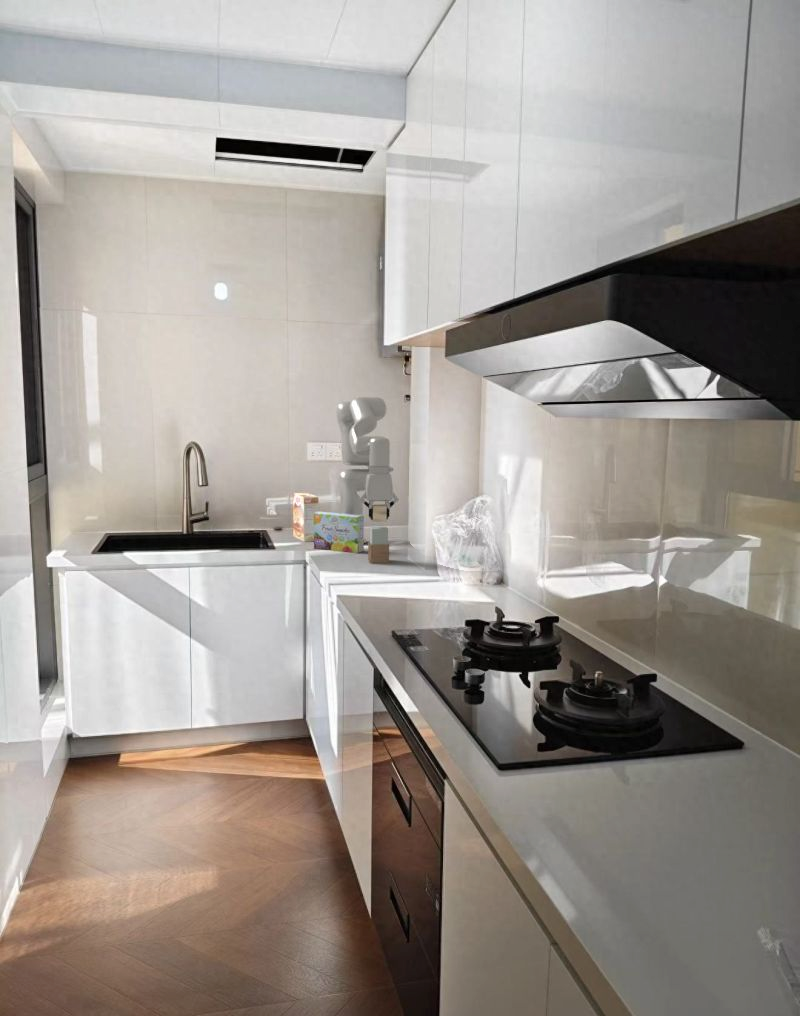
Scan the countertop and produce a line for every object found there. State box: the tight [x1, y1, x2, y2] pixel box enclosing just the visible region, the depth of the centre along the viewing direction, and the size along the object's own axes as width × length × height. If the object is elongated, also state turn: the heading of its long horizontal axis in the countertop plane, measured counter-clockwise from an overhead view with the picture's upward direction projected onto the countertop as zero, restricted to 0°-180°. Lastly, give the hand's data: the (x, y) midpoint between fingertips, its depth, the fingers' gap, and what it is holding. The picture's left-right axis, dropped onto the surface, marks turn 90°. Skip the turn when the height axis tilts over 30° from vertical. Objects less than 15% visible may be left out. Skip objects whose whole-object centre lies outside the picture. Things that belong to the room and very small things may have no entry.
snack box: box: [313, 510, 365, 554], centre depth 339 cm, size 21×6×15 cm, turn 62°
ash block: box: [371, 503, 387, 523], centre depth 314 cm, size 5×5×6 cm
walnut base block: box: [367, 541, 390, 564], centre depth 316 cm, size 7×7×7 cm
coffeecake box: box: [292, 492, 319, 543], centre depth 365 cm, size 15×7×20 cm, turn 25°
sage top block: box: [369, 526, 389, 545], centre depth 315 cm, size 6×6×6 cm
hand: (378, 518), depth 314 cm, fingers closed on ash block, 4 cm apart
